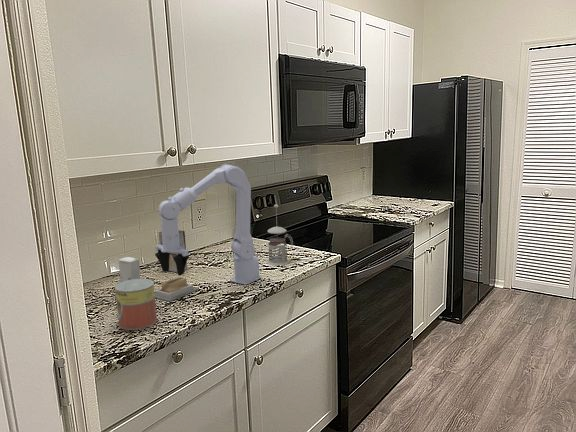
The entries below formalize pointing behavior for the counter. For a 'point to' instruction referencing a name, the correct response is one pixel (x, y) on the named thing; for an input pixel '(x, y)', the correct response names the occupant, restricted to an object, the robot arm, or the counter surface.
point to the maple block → (174, 284)
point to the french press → (280, 258)
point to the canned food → (136, 303)
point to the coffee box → (171, 261)
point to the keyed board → (174, 293)
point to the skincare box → (129, 268)
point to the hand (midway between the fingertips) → (173, 272)
